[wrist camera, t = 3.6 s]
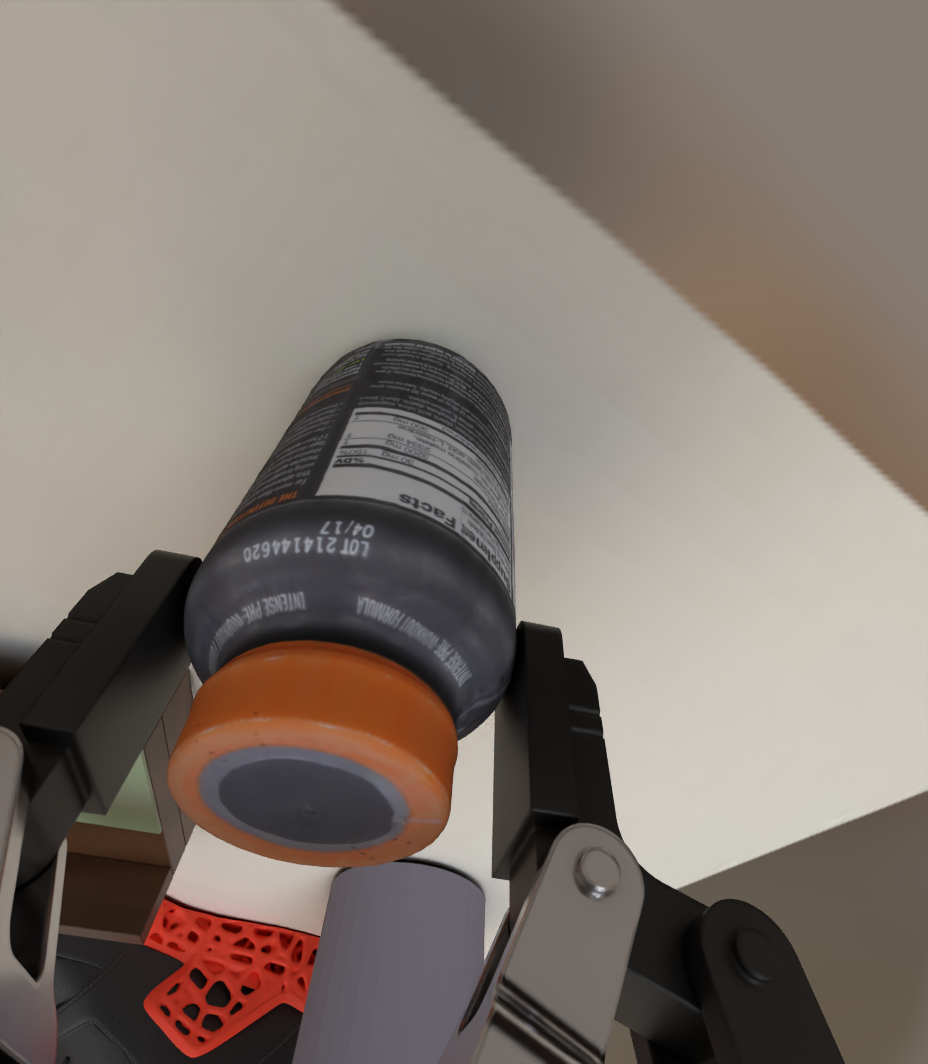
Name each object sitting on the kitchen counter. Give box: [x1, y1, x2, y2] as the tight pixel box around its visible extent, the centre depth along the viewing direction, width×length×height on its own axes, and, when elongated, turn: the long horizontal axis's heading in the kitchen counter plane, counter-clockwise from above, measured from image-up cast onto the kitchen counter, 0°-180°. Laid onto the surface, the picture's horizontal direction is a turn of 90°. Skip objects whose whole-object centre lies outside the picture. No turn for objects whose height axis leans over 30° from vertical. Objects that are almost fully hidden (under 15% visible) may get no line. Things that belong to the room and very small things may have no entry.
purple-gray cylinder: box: [292, 860, 485, 1064], centre depth 32 cm, size 10×10×15 cm
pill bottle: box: [167, 339, 517, 867], centre depth 12 cm, size 6×6×11 cm
